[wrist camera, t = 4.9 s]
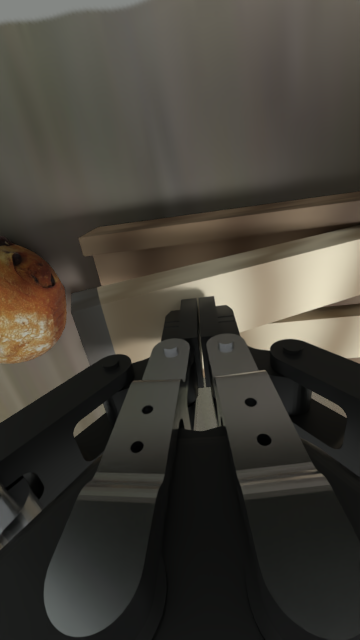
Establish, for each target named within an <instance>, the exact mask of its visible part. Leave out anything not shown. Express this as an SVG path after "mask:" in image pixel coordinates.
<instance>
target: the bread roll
mask: <svg viewBox="0 0 360 640" xmlns="http://www.w3.org/2000/svg"><path fill="white" fill-rule="evenodd" d="M66 313H67V312H66V298H65V289H64V287H63V285H62V283H61V281H60V280H59V278H58V276H57V275H56V273H55V272H54V270H53V269H52V267H51V266H50V265H49V264H48V263H47V262H46V261H45V260H44V259H42V258H41V257H40V256H38V255H37V254H36V253H34V252H32V251H30V250H29V249H26V248H24V247H21V246H19V245H15V244H14V243H11V242H10V241H9V240H8V239H7V238H5V237H4V236H1V237H0V363H8V364H10V363H20V362H24V361H28V360H31V359H34V358H36V357H38V356H40V355H42V354H44V353H46V352H47V351H48V350H49V349H50V348H52V347H53V345H54V344H55V343H56V342H57V341H58V339H59V338H60V336H61V334H62V332H63V330H64V328H65V324H66Z"/></svg>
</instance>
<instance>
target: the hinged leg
mask: <svg viewBox="0 0 360 640" xmlns="http://www.w3.org/2000/svg"><path fill="white" fill-rule="evenodd" d="M358 295H360V225H357V226H353V227H349V228H345V229H340V230H336V231H332V232H328V233H324V234H319V235H315V236H311V237H307V238H303V239H298V240H294V241H290V242H286V243H282V244H277V245H273V246H269V247H265V248H261V249H256V250H252V251H248V252H244V253H239V254H235V255H231V256H227V257H223V258H218V259H214V260H210V261H206V262H202V263H197V264H193V265H189V266H185V267H181V268H176V269H172V270H168V271H164V272H160V273H155V274H151V275H147V276H143V277H139V278H134V279H130V280H126V281H122V282H118V283H113V284H109V285H105V286H101V287H97V288H92V289H88V290H84V291H80V292H76V293H72V295H71V314H72V316H73V319H74V322H75V325H76V328H77V330H78V333H79V336H80V339H81V342H82V344H83V347H84V350H85V353H86V356H87V359H88V361H89V364H90V366H91V365H92V364H94V363H96V362H97V361H99V360H100V359H102V358H104V357H106V356H109V355H114V354H123V355H127V356H128V357H129V358H130V359H131V362H132V363H135V362H138V361H141V360H144V359H147V358H149V357H150V355H151V352H152V349H153V348H154V346H155V345H156V344H158V343H159V342H161V338H162V332H163V328H164V322H165V316H166V315H167V314H168V313H169V312H170V311H174V310H180V305H181V300H182V299H191V298H197V305H198V314H199V298H200V297H209V296H214V299H215V305H216V306H221V305H227V306H229V307H230V308H231V309H233V313H234V316H235V319H236V323H237V326H238V330H239V333H240V332H243V331H246V330H249V329H253V328H256V327H259V326H262V325H265V324H269V323H272V322H275V321H278V320H281V319H285V318H288V317H291V316H294V315H297V314H301V313H304V312H307V311H310V310H313V309H317V308H320V307H323V306H326V305H329V304H332V303H336V302H339V301H342V300H345V299H348V298H352V297H355V296H358ZM199 323H200V319H199Z"/></svg>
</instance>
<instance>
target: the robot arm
mask: <svg viewBox="0 0 360 640" xmlns="http://www.w3.org/2000/svg"><path fill="white" fill-rule="evenodd" d="M199 319H200V323H199ZM202 355H203V363H204V372H205V380H206V387H211V392H212V401H213V408H214V413H215V418H216V424H217V427H216V428H213V429H209V430H206V431H196V424H197V411H198V400H197V396H198V388H204V382H203V363H202ZM312 391H313V392H315V393H317V394H319V395H321V396H322V397H324V398H326V399H328V400H330V401H332V402H334V403H335V404H337V405H339V406H340V407H341V408H342V409H343V410H344V412H345V413H346V415H347V418H345V417H344V416H342V415H340V414H338V413H337V412H335V411H333V410H331V409H329V408H328V407H326V406H324V405H322V404H320V403H319V402H317V401H315V400H313V399H312V398H311V395H312ZM102 403H103V405H104V408H105V411H106V413H105V414H104V415H102V416H101V417H100V418H99V419H97V420H96V421H95V422H94V423H92V424H91V425H90V426H89V427H87V428H86V429H85V430H84V431H82V432H81V433H80V434H78V435H77V436H76V437H75V438H74V436H73V431H74V428H75V426H76V424H77V423H78V422H79V421H80V420H81V419H83V418H84V417H85V416H87V415H88V414H89V413H91V412H92V411H93V410H94V409H96V408H97V407H98V406H100V405H101V404H102ZM0 640H360V364H359V363H357V362H354V361H352V360H349V359H347V358H344V357H342V356H339V355H337V354H334V353H332V352H329V351H327V350H324V349H322V348H319V347H317V346H314V345H312V344H309V343H307V342H304V341H301V340H297V339H283V340H279V341H277V342H275V343H273V344H272V345H271V347H270V350H261V349H255V348H252V347H250V346H247V344H246V342H245V340H244V339H243V338H242V337H241V336H240V333H239V330H238V326H237V323H236V319H235V316H234V313H233V309H231V308H230V307H229V306H227V305H221V306H216V305H215V299H214V296H209V297H200V298H199V314H198V305H197V298H191V299H182V300H181V305H180V310H174V311H170V312H169V313H168V314H167V315H166V316H165V322H164V328H163V332H162V338H161V342H159V343H158V344H156V345H155V346H154V348H153V349H152V352H151V355H150V357H149V358H147V359H144V360H141V361H138V362H135V363H132V362H131V359H130V358H129V357H128V356H127V355H123V354H114V355H109V356H106V357H104V358H102V359H100V360H99V361H97V362H96V363H94V364H92V365H91V366H89V367H88V368H86V369H85V370H83V371H81V372H80V373H78V374H77V375H75V376H74V377H72V378H70V379H69V380H67V381H66V382H64V383H63V384H61V385H59V386H58V387H56V388H55V389H53V390H52V391H50V392H48V393H47V394H45V395H44V396H42V397H41V398H39V399H37V400H36V401H34V402H33V403H31V404H30V405H28V406H26V407H25V408H23V409H22V410H20V411H19V412H17V413H15V414H14V415H12V416H11V417H9V418H8V419H6V420H4V421H3V422H1V423H0Z"/></svg>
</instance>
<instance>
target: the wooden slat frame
mask: <svg viewBox="0 0 360 640" xmlns="http://www.w3.org/2000/svg"><path fill="white" fill-rule="evenodd" d="M357 225H360V191H358V192H351V193H343V194H336V195H329V196H322V197H314V198H307V199H300V200H292V201H285V202H278V203H271V204H263V205H256V206H249V207H241V208H234V209H227V210H219V211H212V212H205V213H198V214H190V215H183V216H176V217H168V218H161V219H154V220H147V221H139V222H132V223H125V224H117V225H110V226H103V227H97V228H96V229H94V230H92V231H90V232H88V233H87V234H85V235H83V236H81V237H79V238H78V239H79V242H80V246H81V249H82V252H83V256H92V255H93V258H94V261H95V265H96V268H97V272H98V276H99V279H100V283H101V286H105V285H109V284H113V283H118V282H122V281H126V280H130V279H134V278H139V277H143V276H147V275H151V274H155V273H160V272H164V271H168V270H172V269H176V268H181V267H185V266H189V265H193V264H197V263H202V262H206V261H210V260H214V259H218V258H223V257H227V256H231V255H235V254H239V253H244V252H248V251H252V250H256V249H261V248H265V247H269V246H273V245H277V244H282V243H286V242H290V241H294V240H298V239H303V238H307V237H311V236H315V235H319V234H324V233H328V232H332V231H336V230H340V229H345V228H349V227H353V226H357ZM240 336H241V337H242V338H243V339H244V340H245V342H246V344H247V346H250V347H252V348H255V349H261V350H270V347H271V345H272V344H273V343H275V342H277V341H279V340H283V339H297V340H301V341H304V342H307V343H309V344H312V345H314V346H317V347H319V348H322V349H324V350H327V351H329V352H332V353H334V354H337V355H339V356H342V357H344V358H347V359H349V360H352V361H354V362H357V363H359V364H360V295H358V296H355V297H352V298H348V299H345V300H342V301H339V302H336V303H332V304H329V305H326V306H323V307H320V308H317V309H313V310H310V311H307V312H304V313H301V314H297V315H294V316H291V317H288V318H285V319H281V320H278V321H275V322H272V323H269V324H265V325H262V326H259V327H256V328H253V329H249V330H246V331H243V332H240ZM202 363H203V355H202ZM203 377H205V372H204V363H203Z"/></svg>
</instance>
